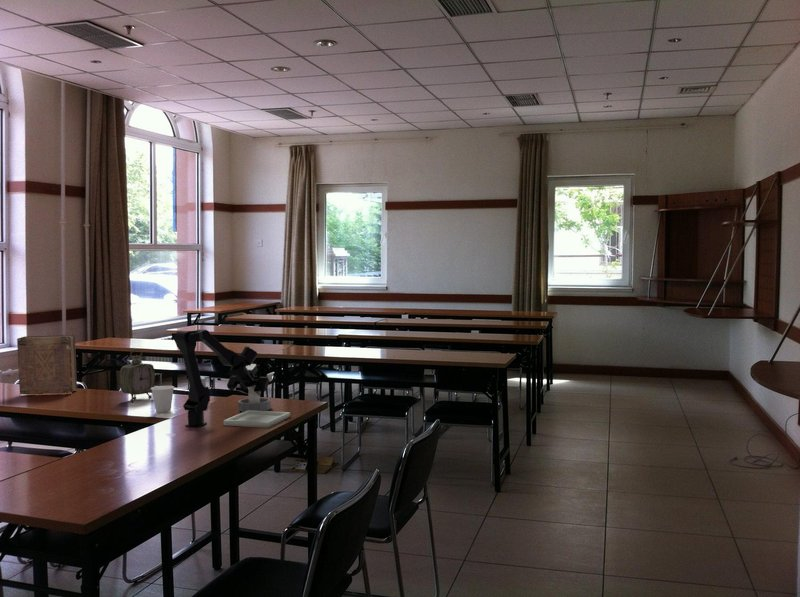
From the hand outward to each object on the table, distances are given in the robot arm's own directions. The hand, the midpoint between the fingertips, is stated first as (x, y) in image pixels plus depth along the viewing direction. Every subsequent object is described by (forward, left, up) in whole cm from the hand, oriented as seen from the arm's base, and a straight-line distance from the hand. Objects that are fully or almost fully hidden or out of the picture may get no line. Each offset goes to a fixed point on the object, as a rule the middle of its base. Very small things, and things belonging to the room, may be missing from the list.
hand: (255, 394), depth 316 cm
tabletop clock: (+6, +68, -7) cm, 69 cm away
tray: (-22, -13, -7) cm, 26 cm away
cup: (-15, +38, -7) cm, 41 cm away
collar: (-1, 0, -7) cm, 7 cm away
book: (+10, +126, -7) cm, 126 cm away
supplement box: (+3, +32, -7) cm, 33 cm away
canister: (-1, 0, -7) cm, 7 cm away
